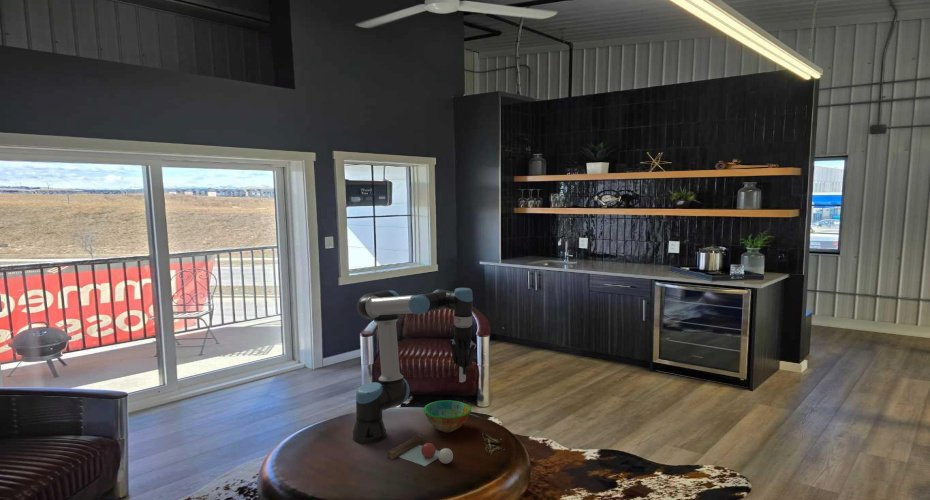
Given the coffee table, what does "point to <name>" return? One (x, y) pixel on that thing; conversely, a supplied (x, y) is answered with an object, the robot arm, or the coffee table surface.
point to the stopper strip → (404, 447)
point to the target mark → (419, 456)
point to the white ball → (445, 455)
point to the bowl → (447, 414)
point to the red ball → (428, 450)
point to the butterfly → (492, 447)
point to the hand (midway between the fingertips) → (462, 381)
